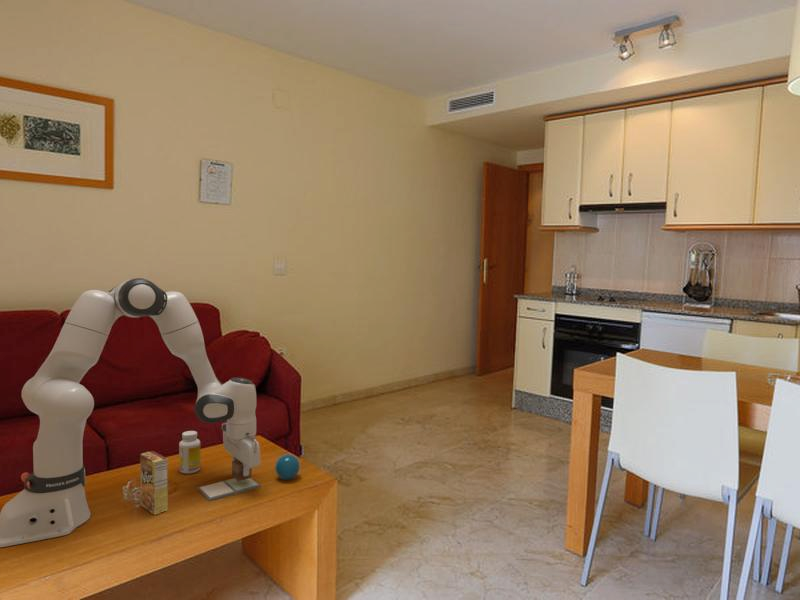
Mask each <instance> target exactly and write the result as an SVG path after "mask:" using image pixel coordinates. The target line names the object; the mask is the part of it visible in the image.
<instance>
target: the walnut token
mask: <svg viewBox="0 0 800 600" xmlns="http://www.w3.org/2000/svg"><path fill="white" fill-rule="evenodd" d="M243 467H244V466H243V463H242V462H240V461H239V460H235V461H233V460H232V461H231V477H232V479H233V478H235V479H236V480H237V481H241V480H245V479H249V478H251V479H253V478H252V475H253V474H252V471H253V468H250V469H249V475H248V476H243V475H242V470H243Z"/></svg>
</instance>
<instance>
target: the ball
mask: <svg viewBox="0 0 800 600" xmlns="http://www.w3.org/2000/svg"><path fill="white" fill-rule="evenodd" d="M300 469H301V462H300V460H299V459H298V457H297V456H295V455H294V454H290V453H287V454H285V453H284V454H283V455H281V456H280V457H279V458H278V459H277V460H276V462H275V467H274V471H275V473H276V475H277V476H278V478H280V479H282V480H284V481H285V480H286V481H287V480H292V479H294V478H295V477H297V475H298V474H299V473H300Z"/></svg>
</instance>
